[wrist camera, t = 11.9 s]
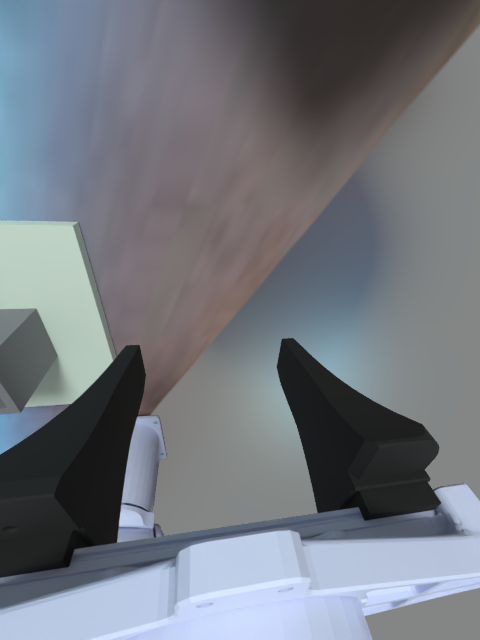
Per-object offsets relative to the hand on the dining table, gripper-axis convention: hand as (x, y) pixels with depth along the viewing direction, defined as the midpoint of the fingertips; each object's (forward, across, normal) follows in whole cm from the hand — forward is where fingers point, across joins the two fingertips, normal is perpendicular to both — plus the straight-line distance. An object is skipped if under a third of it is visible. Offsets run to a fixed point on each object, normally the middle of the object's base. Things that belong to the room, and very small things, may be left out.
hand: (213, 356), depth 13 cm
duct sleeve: (+9, +16, +5) cm, 19 cm away
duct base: (+10, +16, +5) cm, 20 cm away
